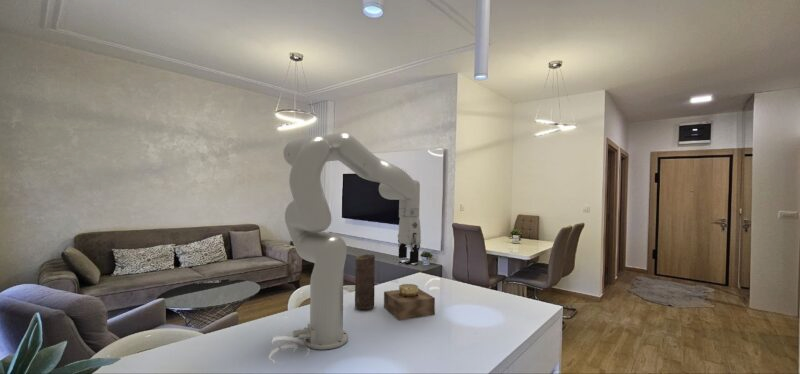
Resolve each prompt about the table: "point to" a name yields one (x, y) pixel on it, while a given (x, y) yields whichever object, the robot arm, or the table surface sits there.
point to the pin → (408, 290)
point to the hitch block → (409, 305)
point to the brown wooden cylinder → (364, 281)
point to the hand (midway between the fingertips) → (408, 260)
